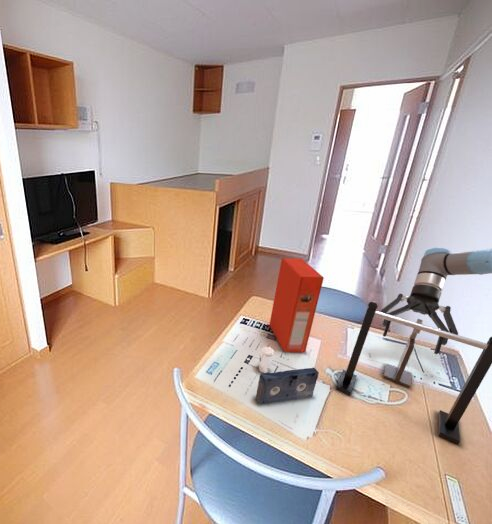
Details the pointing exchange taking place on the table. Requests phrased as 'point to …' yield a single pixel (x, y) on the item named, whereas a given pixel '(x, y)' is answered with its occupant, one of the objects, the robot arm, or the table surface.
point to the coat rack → (446, 422)
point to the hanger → (402, 363)
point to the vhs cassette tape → (286, 385)
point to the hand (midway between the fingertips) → (409, 343)
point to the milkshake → (265, 358)
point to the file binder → (295, 303)
